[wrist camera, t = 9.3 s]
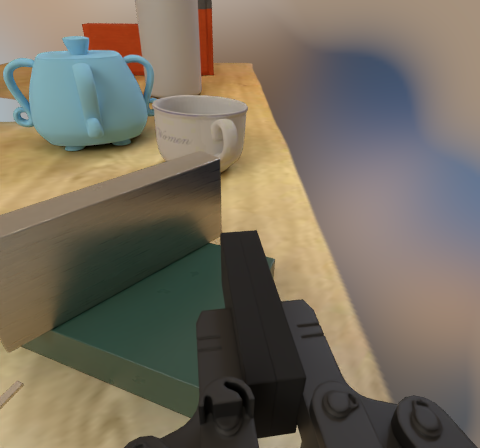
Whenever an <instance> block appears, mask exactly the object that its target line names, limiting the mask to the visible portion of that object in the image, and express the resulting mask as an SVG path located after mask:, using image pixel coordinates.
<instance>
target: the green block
mask: <svg viewBox="0 0 480 448" xmlns="http://www.w3.org/2000/svg"><path fill="white" fill-rule="evenodd" d="M266 259H267V262H268V265H269V268H270V271H271V274H272V277H273V276H274V265H275V259H273V258H269V257H266ZM223 308H225V303H224V296H223V290H222V281H221V246H220V245H216V244H212V243H207V244H206V245H204V246H202V247H200V248H198V249H196V250H195V251H193V252H191V253H189V254H187V255H186V256H184V257H182V258H180V259H178V260H176V261H175V262H173V263H171V264H169V265H167V266H166V267H164V268H162V269H160V270H158V271H157V272H155V273H153V274H151V275H149V276H147V277H146V278H144V279H142V280H140V281H138V282H137V283H135V284H133V285H131V286H129V287H127V288H126V289H124V290H122V291H120V292H118V293H117V294H115V295H113V296H111V297H109V298H107V299H106V300H104V301H102V302H100V303H98V304H97V305H95V306H93V307H91V308H89V309H88V310H86V311H84V312H82V313H80V314H78V315H77V316H75V317H73V318H71V319H69V320H68V321H66V322H64V323H62V324H60V325H58V326H57V327H55V328H53V329H51V330H49V331H48V332H46V333H44V334H42V335H40V336H39V337H37V338H35V339H33V340H31V341H29V342H28V343H26V344H24V345H22V347H24V348H26V349H29V350H31V351H34V352H36V353H38V354H41V355H43V356H45V357H48V358H50V359H52V360H55V361H57V362H60V363H62V364H64V365H67V366H69V367H71V368H74V369H76V370H79V371H81V372H83V373H86V374H88V375H90V376H93V377H95V378H98V379H100V380H102V381H105V382H107V383H109V384H112V385H114V386H116V387H119V388H121V389H124V390H126V391H128V392H131V393H133V394H135V395H138V396H140V397H143V398H145V399H147V400H150V401H152V402H154V403H157V404H159V405H161V406H164V407H166V408H169V409H171V410H173V411H176V412H178V413H180V414H183V415H185V416H188V417H190V418H192V417H193V415H194V413H195V412H196V410H197V407H198V404H199V379H198V358H197V337H196V322H197V320H198V318H199V315H200V313H201V311H204V310H214V309H223ZM23 386H24V384H23V383H21V382H19V381H16V382H15V383H14V384H13V385H12V386H11V387H10V388H9V389H8V390H7V391H6V392H5V393H4V394H3V395H2V396H1V397H0V409H1V408H2V407H3V406H4V405H5V404H6V403H7V402H8V401H9V400H10V399H11V398H12V397H13V396H14V395H15V394H16V393H17V392H18V391H19V390H20V389H21V388H22V387H23Z"/></svg>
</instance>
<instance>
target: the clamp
mask: <svg viewBox="0 0 480 448" xmlns="http://www.w3.org/2000/svg"><path fill="white" fill-rule="evenodd" d="M198 20H199V41H200V63H201V75H214V73H213V38H212V2H211V0H198ZM82 27H83V32H84V37H87V38H89V47H88V50H111V51H116V52H118V53H119V54H120V55H121V56H122V57H125V56H127V55H138V56H141V57H142V51H141V43H140V35H139V28H138V24H106V23H105V24H103V23H98V24H97V23H87V24H82ZM127 65H128V67H129V68H130V70H131V72H132V73H133V75H145V74H144V66H143V65H142V64H140V63H136V62H132V63H127Z"/></svg>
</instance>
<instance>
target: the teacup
mask: <svg viewBox="0 0 480 448" xmlns="http://www.w3.org/2000/svg"><path fill="white" fill-rule="evenodd" d="M152 106H153V109H154V116H155V128H156V137H157V144H158V149H159V151H160V154H161V155H162V157H163V158H164V159H165V160H166V161H169V160H172V159H176V158H179V157H182V156H185V155H188V154H191V153H194V152H197V151H203V152H205V153H208V154H210V155H213V156H215V157H218V158H220V173H221V172H223V171H225V170H226V169H227V168H228V167H229V166H231V165H232V164H234V163H235V162H236V161H237V160H238V159H239V157H240V155H241V153H242V150H243V144H244V136H245V124H246V112H247V110H248V107H247V105H246V104H245V103H243V102H241V101H238V100H235V99H230V98H224V97H217V96H205V95H179V96H170V97H165V98H160V99H157V100H155V101H154V102H153V104H152Z"/></svg>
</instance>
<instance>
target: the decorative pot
mask: <svg viewBox="0 0 480 448" xmlns="http://www.w3.org/2000/svg"><path fill="white" fill-rule="evenodd" d="M63 42H64V44H65V46H66V47H67V49H68V51H54V52H44V53H40V54H38V55H37V56H36V57H35V60H31V59H26V58H19V59H15V60H13V61H11V62H10V63H8V64H7V65H6V67H5V69H4V71H3V77H4V81H5V83H6V85H7V87H8V89H9V90H10V92H11V93H12V95H13V96H14V97H15V99H16V100H17V101H18V103H19V104H20V105H21V106H22V107H18V108H16V109H15V111H14V113H13V117H14V120H15V121H16V123H18V124H19V125H21V126H24V127H33V126H34V127H35V129H36V130H37V132H38V133H39V134H40V135H41V136H42V137H43V138H44V139H46V140H47V141H48V142H49V143H51V144H53V145H58V146H66V147H65V150H67V151H77V150H81V149H83V148H85V146H87V145H99V144H106V143H113V144H114V145H127V144H129V143H131V141H130V139H131V138H134V137H136V136H138V135H140V134H141V133H142V131H143V129H144V127H145V125H146V122H147V117H148V116H154V109H152V110H151V109H150V108H149V103H153V102H154V101H155V100H157V99H155V98H150V97H151V93H152V88H153V83H154V71H153V67H152V65H151V64H150V63H149V62H148V61H147V60H146V59H145V58H143V57H141V56H138V55H127V56H125V57H122V56H121V55H120V54H119V53H118V52H116V51H111V50H88V47H89V38H87V37H81V36H72V37H64V38H63ZM132 62H136V63H140V64H142V65H143V66H144V67H145V68H146V71H147V82H146V87H145V91H144V96H143V94H142V91H141V89H140V87H139V84H138V83H137V81H136V79H135V77H134V75H133V73H132V72H131V70H130V68H129V67H128V65H127V63H132ZM19 67H32V74H31V80H30V88H29V102H28V101H27V99H26V98H25V97H24V95H23V94H22V93H21V91H20V90H19V88H18V87H17V85H16V83H15V81H14V78H13V71H14V70H15V69H17V68H19ZM21 112H26V113H27V115H28V117H29V119H28V120H26V119H23V118H22V117H21V116H20V113H21Z"/></svg>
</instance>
